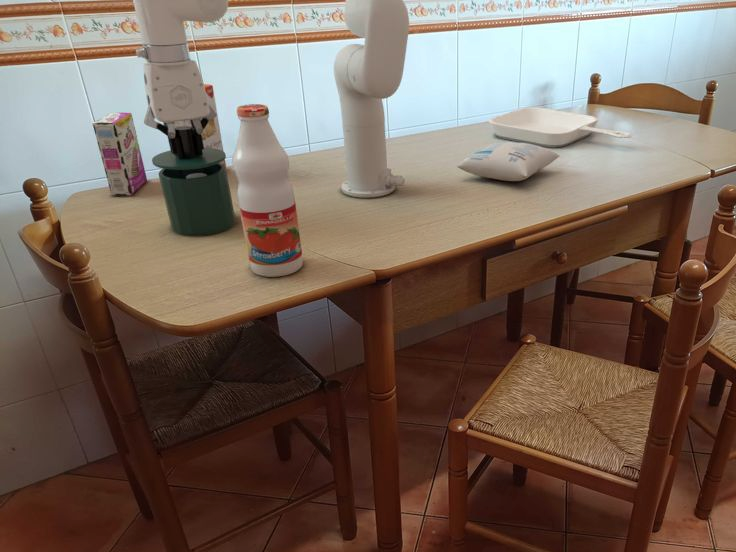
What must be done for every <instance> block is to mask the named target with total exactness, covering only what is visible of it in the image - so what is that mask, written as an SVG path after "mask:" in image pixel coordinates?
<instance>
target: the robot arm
mask: <svg viewBox="0 0 736 552" xmlns="http://www.w3.org/2000/svg"><path fill="white" fill-rule="evenodd" d="M132 3H133V6H134V7H133V8H134V11H135V15H136V20H137V25H138V29H139V33H140V38H141V43H142V44H141V48H136V49H135V54H136V57H137V58H138V59H139V58H141V59H144V60H145V61H146V62H144V63H143V79H144V89H145V95H146V96H145V97H146V101H147V102H146V103H147V110H146V112H145V117H144V120H143V124H144V125H146V126H147V127H150V128H153V129H155V130H158V131H160V132H161V133H162V134H164V135H165V136H167V140H168V141H167V142H168V145H169V151H170V150H171V153H172V154H174V155H175V156H176V157H177V158H179V159H182V158H183V155H182V150H181V146H180V141H179V138H178V137H176V134H175V126H174V122H176V121H184V120H189V121H190V124H191V127H192V130H193V135H194V140H195V144H196V149H197V154H198V155H203V152H202V150H203V149H204V145H203V140H202V135H201V134H202V133H203V130H204V128H205V127H206V125H207V124H208V122H209V121H211V120H212V119H213V118H215V117H216V113H215V111H214V110H213V109H212V108H211V106H210V105H209V103H208V99H207V95H206V91H205V87H204V84H205V83H204V81H203V77H202V74H201V71H200V69H199V66H198V63H197V61H196V60H193V59H192V58H191V54H190V50H189V44H188V39H187V33H186V28H185V23H184V22H196V23H197V22H198V23H207V24H208V23H214V22H217V21H219V20H221V19H222V18H223V17H224V16H225V15H226V13H227V11H228V8H229V0H132ZM343 14H344V22H345V25H346V27H347V29H348V31H350V32H351V33H352V34H353V35H355V36H357V37H360V38H363V39H364V43H363V44H360V43H352V44H347V45H345V46H343V47H342V48H341V49H340V50H339V51H338V52H337V54H336V56H335V58H334V62H333V75H334V80H335V86H336V89H337V93H338V98H339V103H340V105H339V106H340V113H341V124H342V125H341V126H342V134H343V145H344V147H343V148H344V157H345V170H346V181H344V182H343V183H342V184H341V186H340V188H341V192H342V194H344V195H346V196H349V197H354V198H362V199H363V198H364V199H366V198H379V197H383V196H386V195H389V194H391V193H393V192H394V191H395V189H396V187H405V185H406V184H405V183H406V179H405V178H404V176H403V175H399V174H398V175H395V174H393V173H392V168H389V167H388V159H387V156H388V155H387V140H386V125H385V123H386V118H385V108H384V103H383V100H384V99H388V98H390V97H392V96H393V95H394V94H395V93H396V92H397V91H398V89H399V88H400V86H401V83H402V79H403V75H404V69H405V62H406V54H407V48H408V41H409V32H410V17H409V11H408V8H407V5H406V2H404V0H345V2H344V13H343ZM155 119H156V120H157V121H156V120H155Z"/></svg>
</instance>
